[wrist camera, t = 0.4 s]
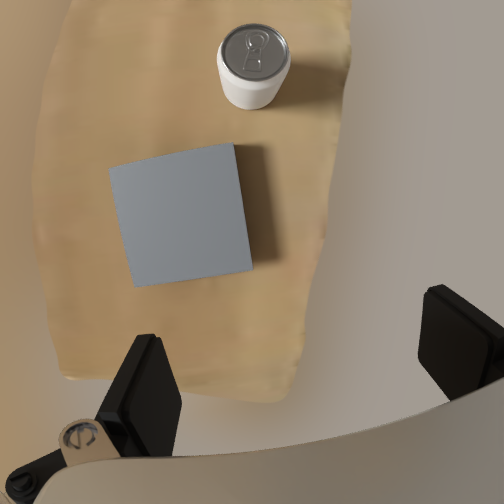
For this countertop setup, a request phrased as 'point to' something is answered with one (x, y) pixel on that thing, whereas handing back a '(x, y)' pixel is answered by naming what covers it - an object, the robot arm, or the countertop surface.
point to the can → (253, 65)
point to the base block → (182, 215)
